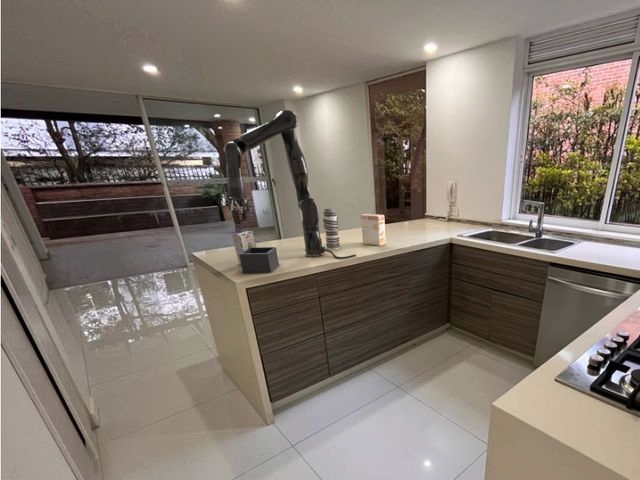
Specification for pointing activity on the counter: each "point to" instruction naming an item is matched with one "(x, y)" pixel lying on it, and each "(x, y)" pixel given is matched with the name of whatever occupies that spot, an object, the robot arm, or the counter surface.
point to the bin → (259, 259)
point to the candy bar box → (243, 242)
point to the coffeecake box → (373, 229)
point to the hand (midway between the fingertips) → (239, 219)
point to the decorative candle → (331, 229)
